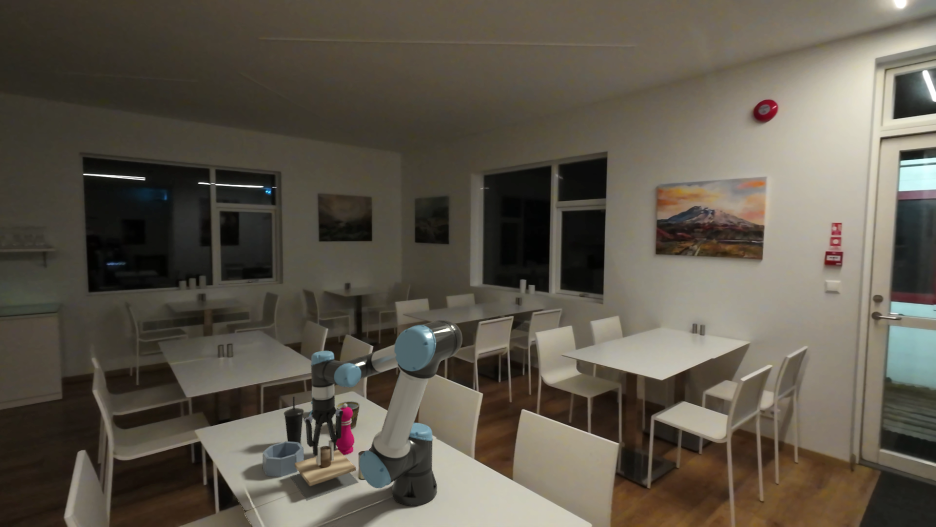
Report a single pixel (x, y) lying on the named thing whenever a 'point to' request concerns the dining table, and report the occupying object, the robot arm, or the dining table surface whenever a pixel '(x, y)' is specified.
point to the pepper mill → (346, 432)
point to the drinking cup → (294, 423)
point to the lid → (324, 467)
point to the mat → (322, 485)
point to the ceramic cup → (355, 409)
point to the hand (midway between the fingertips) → (324, 461)
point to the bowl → (282, 458)
